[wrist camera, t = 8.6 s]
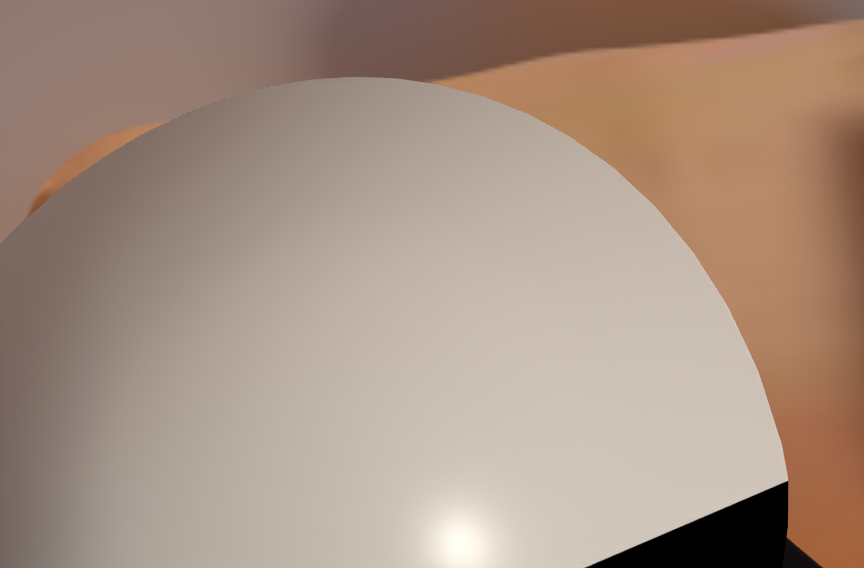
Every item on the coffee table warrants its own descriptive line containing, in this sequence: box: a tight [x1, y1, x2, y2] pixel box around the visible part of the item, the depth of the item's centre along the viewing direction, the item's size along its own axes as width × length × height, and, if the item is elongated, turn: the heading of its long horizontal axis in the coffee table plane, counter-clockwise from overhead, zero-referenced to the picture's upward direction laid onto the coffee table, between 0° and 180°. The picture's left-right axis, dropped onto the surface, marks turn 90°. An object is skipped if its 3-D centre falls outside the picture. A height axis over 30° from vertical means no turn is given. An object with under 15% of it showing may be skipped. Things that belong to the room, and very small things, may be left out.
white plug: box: [0, 77, 788, 568], centre depth 8 cm, size 5×5×13 cm
